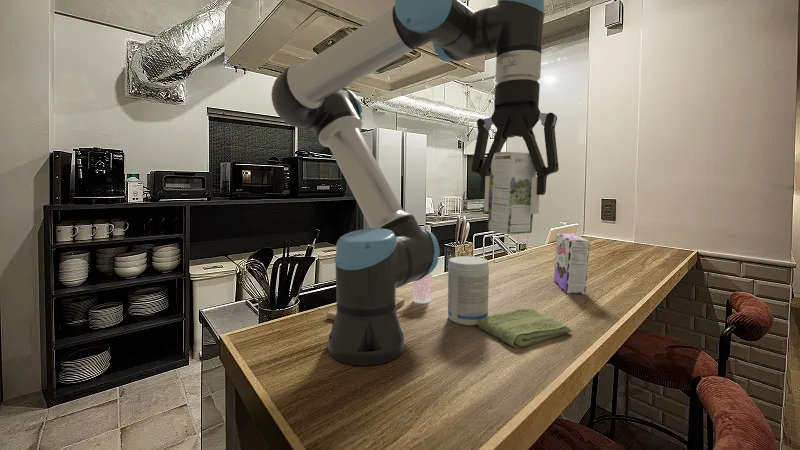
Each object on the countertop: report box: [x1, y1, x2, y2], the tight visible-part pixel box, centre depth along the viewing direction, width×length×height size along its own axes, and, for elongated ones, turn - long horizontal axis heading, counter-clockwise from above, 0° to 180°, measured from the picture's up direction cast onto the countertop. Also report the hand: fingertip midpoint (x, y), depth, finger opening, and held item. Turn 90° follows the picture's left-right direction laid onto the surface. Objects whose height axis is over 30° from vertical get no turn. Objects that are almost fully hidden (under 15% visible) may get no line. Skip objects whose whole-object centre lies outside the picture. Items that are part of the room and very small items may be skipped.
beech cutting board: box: [326, 296, 405, 321], centre depth 94 cm, size 18×12×2 cm, turn 153°
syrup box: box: [487, 151, 537, 235], centre depth 67 cm, size 6×6×14 cm
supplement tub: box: [447, 255, 490, 326], centre depth 88 cm, size 10×10×15 cm
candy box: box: [553, 232, 591, 296], centre depth 115 cm, size 14×6×16 cm, turn 172°
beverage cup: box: [412, 270, 434, 304], centre depth 102 cm, size 6×6×14 cm
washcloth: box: [477, 308, 573, 349], centre depth 83 cm, size 13×18×3 cm
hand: (510, 211), depth 67 cm, fingers closed on syrup box, 8 cm apart
